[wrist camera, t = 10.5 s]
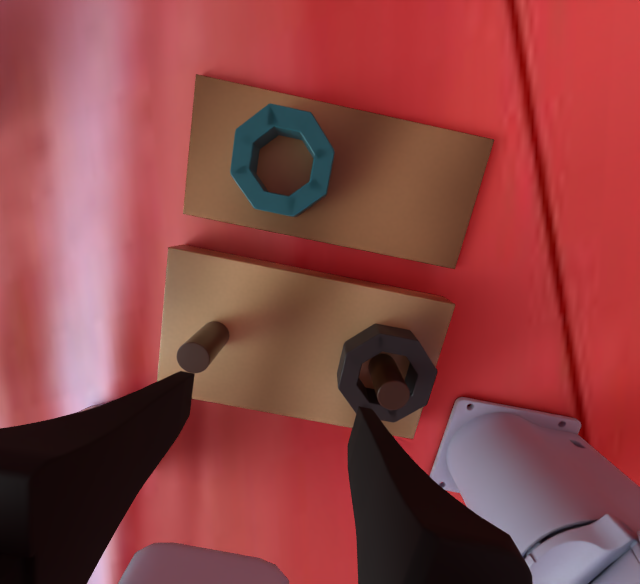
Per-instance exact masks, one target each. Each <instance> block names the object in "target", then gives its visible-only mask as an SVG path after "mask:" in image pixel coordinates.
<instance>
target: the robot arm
mask: <svg viewBox="0 0 640 584" xmlns="http://www.w3.org/2000/svg"><path fill="white" fill-rule="evenodd" d="M194 376H195V374H194V373H188V372H183V371H179V372H177V373H175V374H172V375H170V376H168V377H166V378H164V379H162V380H160V381H158V382H156V383H153V384H151V385H149V386H147V387H145V388H143V389H141V390H138V391H136V392H133V393H131V394H129V395H126V396H124V397H122V398H119V399H117V400H114V401H111V402H109V403H106V404H103V405H100V406H97V407H94V408H91V409H88V410H85V411H81V412H77V413H74V414H70V415H66V416H62V417H58V418H55V419H50V420H46V421H41V422H36V423H31V424H26V425H20V426H14V427H8V428H1V429H0V584H87V582H88V580H89V578H90V577H91V575H92V573H93V571H94V569H95V567H96V565H97V564H98V562H99V560H100V558H101V556H102V554H103V552H104V551H105V549H106V547H107V545H108V544H109V542H110V540H111V538H112V537H113V535H114V533H115V531H116V529H117V528H118V526H119V524H120V522H121V521H122V519H123V517H124V516H125V514H126V512H127V510H128V509H129V507H130V505H131V504H132V502H133V500H134V499H135V497H136V495H137V494H138V492H139V491H140V489H141V488H142V486H143V485H144V483H145V482H146V480H147V479H148V478H149V476H150V475H151V474H152V472H153V471H154V469H155V468H156V467H157V465H158V464H159V462H160V461H161V460H162V458H163V457H164V455H165V454H166V453H167V451H168V450H169V448H170V447H171V446H172V444H173V443H174V441H175V440H176V438H177V437H178V435H179V434H180V432H181V430H182V428H183V426H184V425H185V423H186V421H187V419H188V417H189V415H190V407H191V399H192V392H193V384H194ZM468 404H471V406H469V407H467V405H468ZM559 422H560V423H559ZM580 428H581V423H580V422H579V421H578V420H577V419H575V418H572V417H567V416H561V415H556V414H551V413H546V412H540V411H535V410H530V409H524V408H519V407H514V406H509V405H503V404H498V403H493V402H487V401H482V400H477V399H472V398H466V397H459V398H458V399H456V401H455V403H454V406H453V409H452V412H451V415H450V418H449V421H448V424H447V427H446V429H445V432H444V435H443V438H442V441H441V444H440V447H439V450H438V453H437V456H436V459H435V462H434V465H433V467H432V470H431V473H430V476H428V475H427V474H426V473H425V472H424V471H423V470H422V469H421V468H420V467H419V466H418V465H417V464H416V463H415V462H414V461H413V460H412V459H411V457H410V456H409V455H408V454H407V453H406V452H405V451H404V449H403V448H402V447H401V446H400V445H399V444H398V442H397V441H396V440H395V439H394V437H393V436H392V435H391V433H390V432H389V431H388V429H387V428H386V427H385V425H384V424H383V423H382V421H381V420H380V419H379V417H378V416H377V415H376V413H375V412H374V411H373V409H370V408H365V407H360V406H358V410H357V413H356V417H355V421H354V425H353V428H352V432H351V436H350V439H349V443H348V473H349V481H350V489H351V496H352V503H353V510H354V518H355V526H356V536H357V558H358V584H640V487H639V486H638V485H637V484H636V483H634V482H633V481H632V480H631V479H630V478H628V477H627V476H626V475H625V474H624V473H623V472H621V471H620V470H619V469H618V468H617V467H615V466H614V465H613V464H612V463H611V462H610V461H608V460H607V459H606V458H605V457H604V456H602V455H601V454H600V453H599V452H598V451H597V450H595V449H594V448H593V447H592V446H591V445H590V444H588V443H587V442H586V441H585V440H584V439H582V438H581V437H580V436H579V435H578V433H579V430H580ZM441 482H443V483H441ZM445 490H447V491H453V492H458V493H460V494H461V496H462V498H463V500H464V502H465V504H466V506H467V507H466V506H465V505H463V504H462V503H461V502H459V501H458V500H457V499H455V498H454V497H453V496H451V495H450V494H449V493H448V492H447V491H445ZM118 584H289V580H288V579H287V577H286V576H285V575H284V574H283V573H282V572H281V571H280V569H279V568H278V567H277V566H276V565H275V564H273V563H270V562H268V561H265V560H263V559H260V558H256V557H251V556H245V555H240V554H234V553H229V552H223V551H218V550H212V549H206V548H201V547H195V546H190V545H184V544H179V543H153V544H151V545H149V546H147V547H145V548H143V549H141V550H139V551H138V552H136V553H135V554H134V556H133V558H132V560H131V562H130V563H129V565H128V567H127V569H126V570H125V572H124V574H123V576H122V577H121V579H120V581H119V583H118Z"/></svg>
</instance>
